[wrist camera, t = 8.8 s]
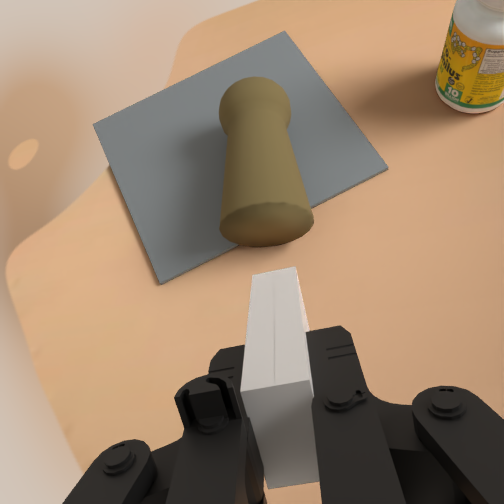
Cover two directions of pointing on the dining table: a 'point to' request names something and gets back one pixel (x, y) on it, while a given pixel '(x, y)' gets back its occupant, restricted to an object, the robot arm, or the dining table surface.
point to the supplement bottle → (473, 57)
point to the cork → (260, 167)
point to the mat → (223, 152)
